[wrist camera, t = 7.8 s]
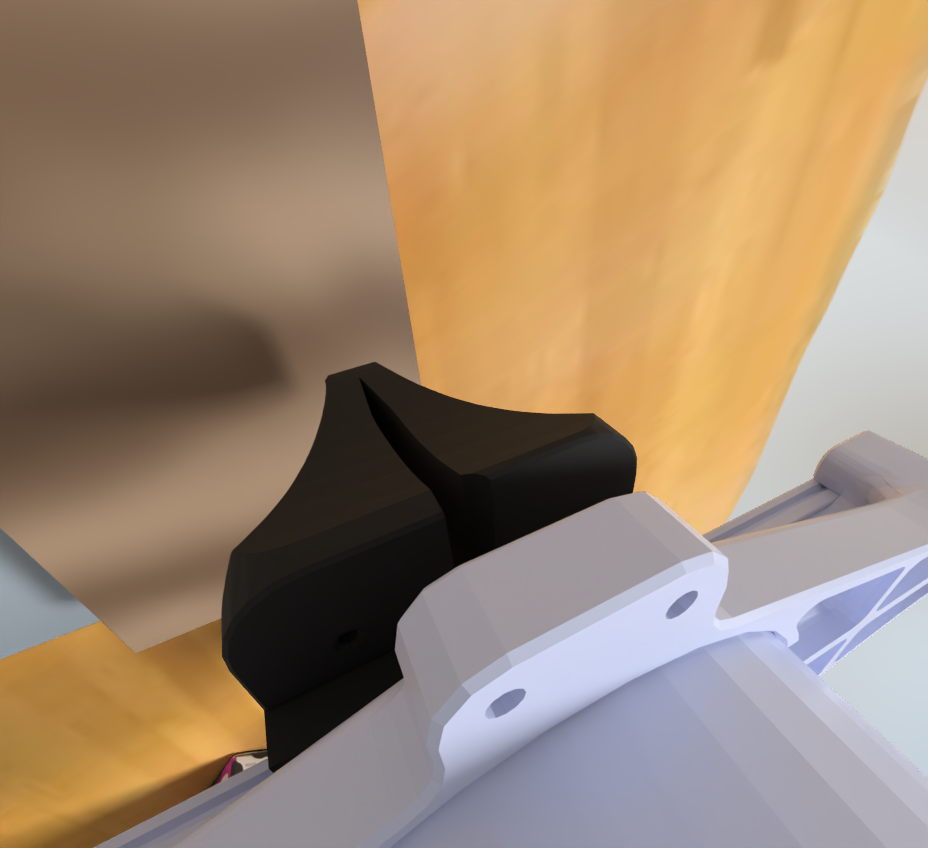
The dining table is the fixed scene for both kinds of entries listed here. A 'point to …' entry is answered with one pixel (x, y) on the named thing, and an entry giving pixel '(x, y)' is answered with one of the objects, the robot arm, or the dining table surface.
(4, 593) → the mat
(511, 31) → the dining table surface
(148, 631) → the brown flat block
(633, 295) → the dining table surface
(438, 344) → the dining table surface
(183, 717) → the dining table surface
